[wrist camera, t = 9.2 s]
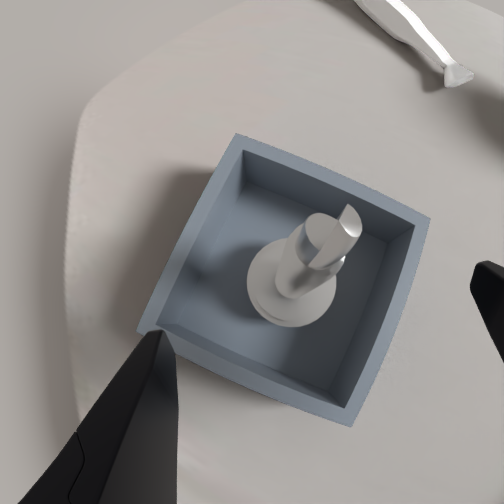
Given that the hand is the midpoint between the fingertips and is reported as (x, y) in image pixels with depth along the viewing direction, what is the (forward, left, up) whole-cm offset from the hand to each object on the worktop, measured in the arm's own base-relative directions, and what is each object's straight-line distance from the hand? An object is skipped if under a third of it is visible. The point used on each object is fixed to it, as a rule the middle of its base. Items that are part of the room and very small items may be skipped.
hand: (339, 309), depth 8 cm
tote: (+2, +1, -12) cm, 12 cm away
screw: (+1, +1, -11) cm, 11 cm away
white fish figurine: (+30, 0, -12) cm, 32 cm away
